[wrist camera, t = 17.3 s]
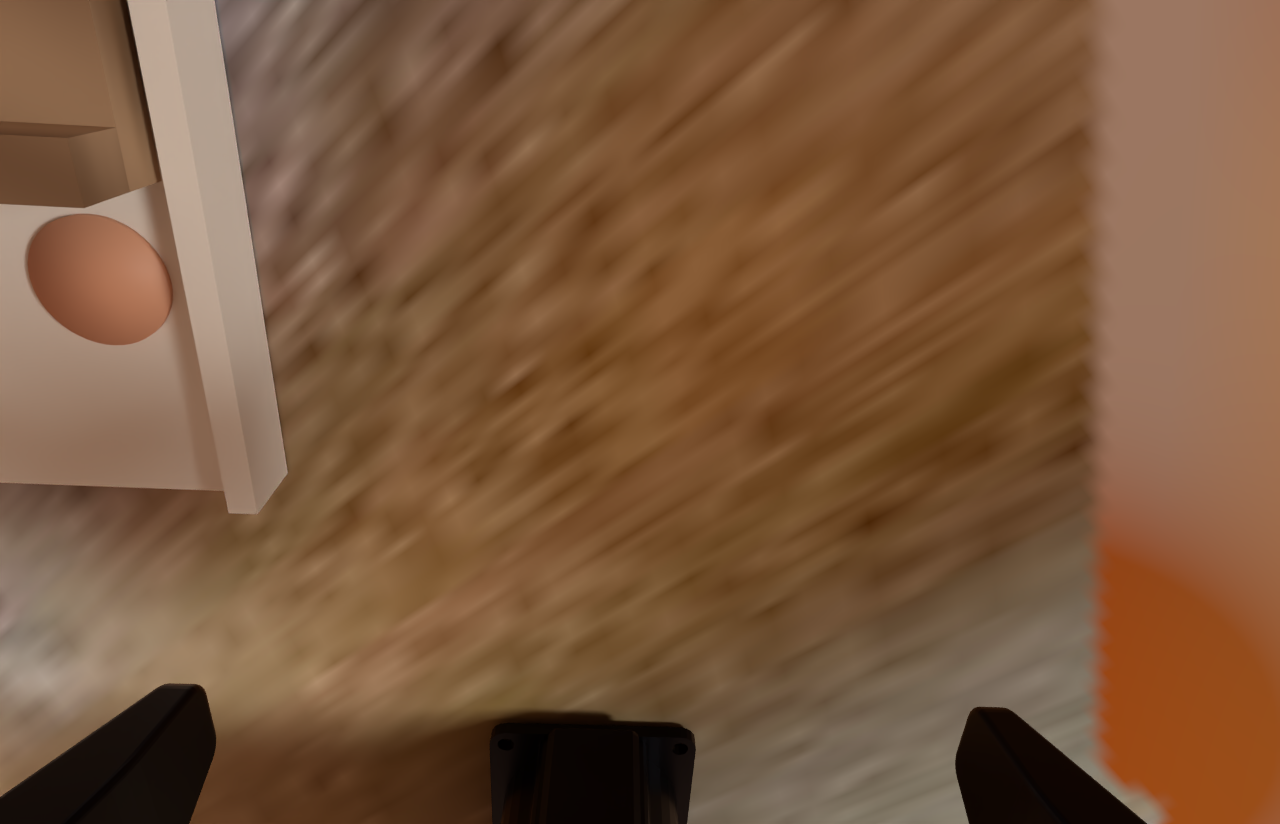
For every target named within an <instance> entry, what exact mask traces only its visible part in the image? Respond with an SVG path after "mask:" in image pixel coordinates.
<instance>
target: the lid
mask: <svg viewBox="0 0 1280 824" xmlns="http://www.w3.org/2000/svg"><path fill="white" fill-rule="evenodd" d="M160 181H162V180H161V175H160V170H159V165H158V160H157V155H156V150H155V145H154V140H153V135H152V130H151V125H150V120H149V115H148V110H147V104H146V99H145V94H144V89H143V84H142V79H141V74H140V69H139V64H138V59H137V54H136V49H135V44H134V39H133V34H132V29H131V24H130V19H129V14H128V8H127V3H126V0H0V204H10V205H30V206H49V207H69V208H86V207H89V206H92V205H95V204H98V203H100V202H103V201H106V200H109V199H112V198H115V197H117V196H120V195H123V194H126V193H129V192H132V191H134V190H137V189H140V188H143V187H146V186H148V185H151V184H154V183H157V182H160Z"/></svg>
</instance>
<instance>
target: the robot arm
mask: <svg viewBox="0 0 1280 824" xmlns="http://www.w3.org/2000/svg"><path fill="white" fill-rule="evenodd" d="M504 739H510V740H504ZM679 743H682V744H681V745H677V744H679ZM215 748H216V733H215V728H214V724H213V720H212V716H211V712H210V708H209V703H208V699H207V695H206V692H205V690H204V689H203V688H202V687H201V686H200V685H197V684H164V685H162V686H160V687H158V688H156V689H155V690H153V691H152V692H150V693H149V694H148V695H146V696H145V697H143V698H142V699H140V700H139V701H137V702H136V703H135V704H133V705H132V706H130V707H129V708H127V709H126V710H125V711H123V712H122V713H120V714H119V715H117V716H116V717H114V718H113V719H112V720H110V721H109V722H107V723H106V724H104V725H103V726H102V727H100V728H99V729H97V730H96V731H94V732H93V733H91V734H90V735H89V736H87V737H86V738H84V739H83V740H81V741H80V742H79V743H77V744H76V745H74V746H73V747H71V748H70V749H69V750H67V751H66V752H64V753H63V754H61V755H60V756H58V757H57V758H56V759H54V760H53V761H51V762H50V763H48V764H47V765H46V766H44V767H43V768H41V769H40V770H38V771H37V772H35V773H34V774H33V775H31V776H30V777H28V778H27V779H25V780H24V781H23V782H21V783H20V784H18V785H17V786H15V787H14V788H12V789H11V790H10V791H8V792H7V793H5V794H4V795H2V796H1V797H0V824H189V823H190V820H191V817H192V814H193V812H194V809H195V806H196V803H197V801H198V798H199V795H200V792H201V790H202V787H203V784H204V781H205V779H206V776H207V773H208V771H209V768H210V765H211V762H212V760H213V756H214V753H215ZM695 751H696V748H695V738H694V734H693V733H692V732H691V731H690V730H688V729H685V728H673V727H636V726H599V725H561V724H524V723H503V724H500V725H497V726H496V727H495V728H494V729H493V731H492V735H491V740H490V765H491V793H492V822H493V824H687V818H688V810H689V801H690V793H691V785H692V776H693V768H694V759H695ZM955 767H956V775H957V779H958V783H959V787H960V791H961V794H962V798H963V802H964V806H965V810H966V813H967V817H968V821H969V824H1147V823H1146V822H1145V821H1143V820H1142V819H1141V818H1140V817H1139V816H1137V815H1136V814H1135V813H1134V812H1133V811H1131V810H1130V809H1129V808H1128V807H1127V806H1125V805H1124V804H1123V803H1122V802H1121V801H1119V800H1118V799H1117V798H1116V797H1115V796H1113V795H1112V794H1111V793H1110V792H1109V791H1107V790H1106V789H1105V788H1104V787H1103V786H1101V785H1100V784H1099V783H1098V782H1097V781H1096V780H1094V779H1093V778H1092V777H1091V776H1090V775H1088V774H1087V773H1086V772H1085V771H1084V770H1082V769H1081V768H1080V767H1079V766H1078V765H1076V764H1075V763H1074V762H1073V761H1072V760H1070V759H1069V758H1068V757H1067V756H1066V755H1064V754H1063V753H1062V752H1061V751H1060V750H1058V749H1057V748H1056V747H1055V746H1054V745H1052V744H1051V743H1050V742H1049V741H1048V740H1047V739H1045V738H1044V737H1043V736H1042V735H1041V734H1039V733H1038V732H1037V731H1036V730H1035V729H1033V728H1032V727H1031V726H1030V725H1029V724H1027V723H1026V722H1025V721H1024V720H1023V719H1021V718H1020V717H1019V716H1018V715H1017V714H1015V713H1014V712H1013V711H1011V710H1009V709H1007V708H1000V707H976V708H974V709H973V710H972V711H971V712H970V714H969V716H968V719H967V722H966V725H965V728H964V731H963V734H962V737H961V741H960V744H959V747H958V750H957V754H956V760H955Z"/></svg>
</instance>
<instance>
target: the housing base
mask: <svg viewBox="0 0 1280 824" xmlns="http://www.w3.org/2000/svg"><path fill="white" fill-rule="evenodd" d="M126 3H127V8H128V14H129V19H130V24H131V29H132V34H133V39H134V44H135V49H136V54H137V59H138V64H139V69H140V74H141V79H142V84H143V89H144V94H145V99H146V104H147V110H148V115H149V120H150V125H151V130H152V135H153V140H154V145H155V150H156V155H157V160H158V165H159V170H160V175H161V180H162V181H160V182H157V183H154V184H151V185H148V186H146V187H143V188H140V189H137V190H134V191H132V192H129V193H126V194H123V195H120V196H117V197H115V198H112V199H109V200H106V201H103V202H100V203H98V204H95V205H92V206H89V207H86V208H69V207H49V206H30V205H10V204H0V483H25V484H51V485H78V486H104V487H131V488H157V489H184V490H210V491H224V493H225V498H226V503H227V508H228V513H235V514H258V513H259V512H260V510H261V509H262V508H263V506H264V505H265V503H266V502H267V501H268V499H269V498H270V497H271V495H272V494H273V493H274V491H275V490H276V489H277V487H278V486H279V484H280V483H281V482H282V480H283V479H284V478H285V476H286V475H287V474H288V471H287V465H286V458H285V452H284V445H283V439H282V433H281V426H280V420H279V413H278V407H277V400H276V394H275V388H274V381H273V375H272V368H271V362H270V355H269V349H268V342H267V336H266V330H265V323H264V317H263V310H262V304H261V297H260V291H259V284H258V278H257V272H256V265H255V259H254V252H253V246H252V239H251V233H250V226H249V220H248V214H247V207H246V201H245V194H244V188H243V181H242V175H241V169H240V162H239V156H238V149H237V143H236V136H235V130H234V123H233V117H232V111H231V104H230V98H229V91H228V85H227V78H226V72H225V65H224V59H223V53H222V46H221V40H220V33H219V27H218V20H217V14H216V8H215V1H214V0H126Z"/></svg>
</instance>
